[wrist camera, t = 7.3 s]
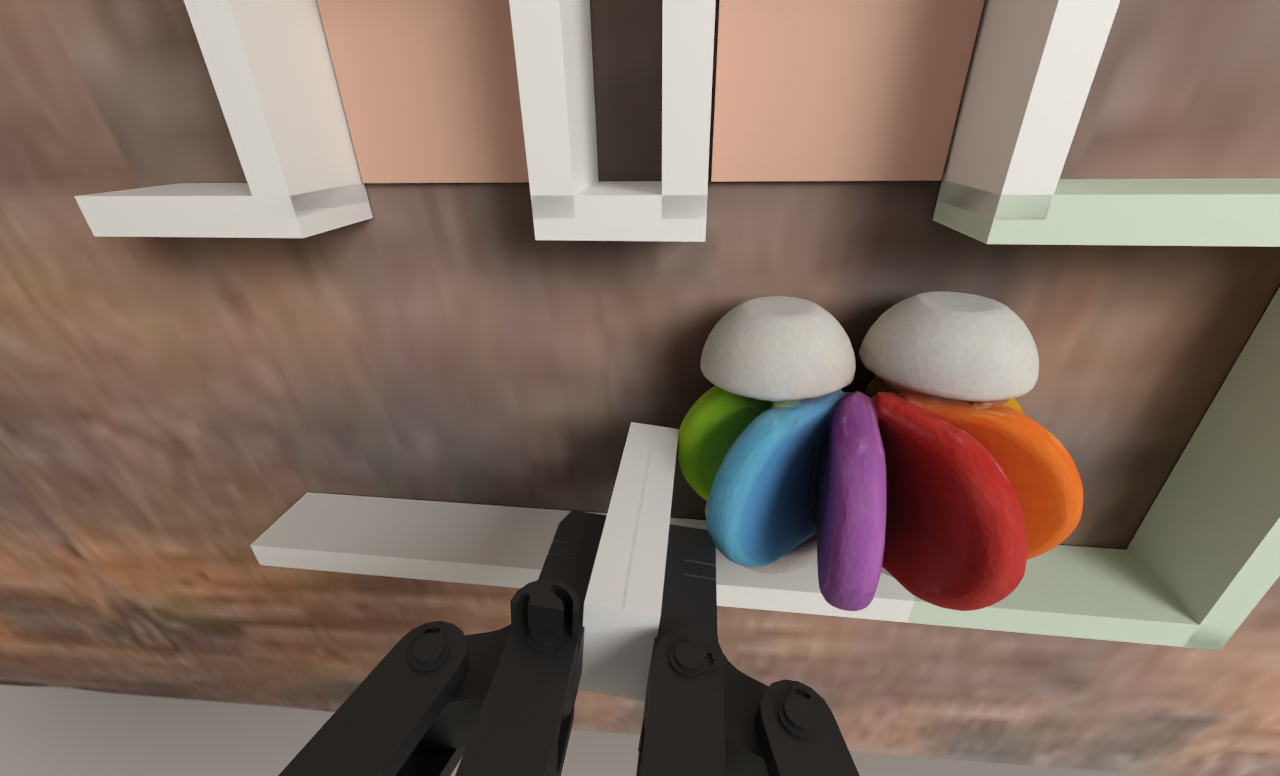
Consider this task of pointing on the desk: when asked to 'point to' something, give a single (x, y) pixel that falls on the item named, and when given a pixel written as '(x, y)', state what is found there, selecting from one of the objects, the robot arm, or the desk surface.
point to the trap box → (676, 211)
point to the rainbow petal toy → (879, 449)
